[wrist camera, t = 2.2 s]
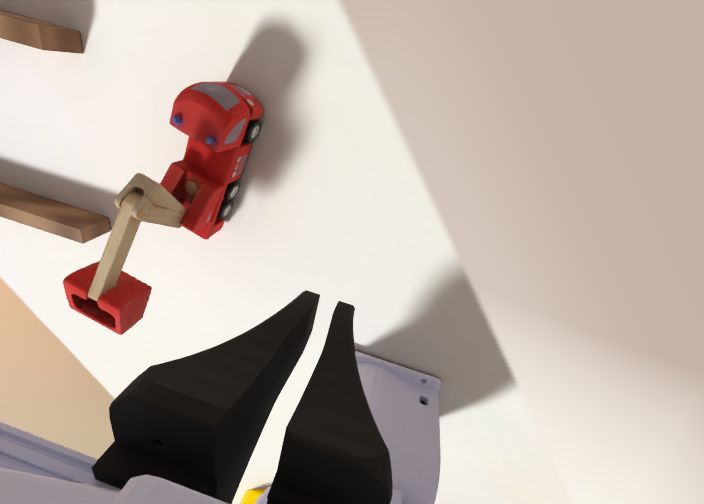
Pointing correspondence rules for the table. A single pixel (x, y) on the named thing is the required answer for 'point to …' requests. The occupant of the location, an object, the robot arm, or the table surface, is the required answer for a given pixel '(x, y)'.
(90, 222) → the bay
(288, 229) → the table surface
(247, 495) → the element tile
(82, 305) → the toy fire truck
